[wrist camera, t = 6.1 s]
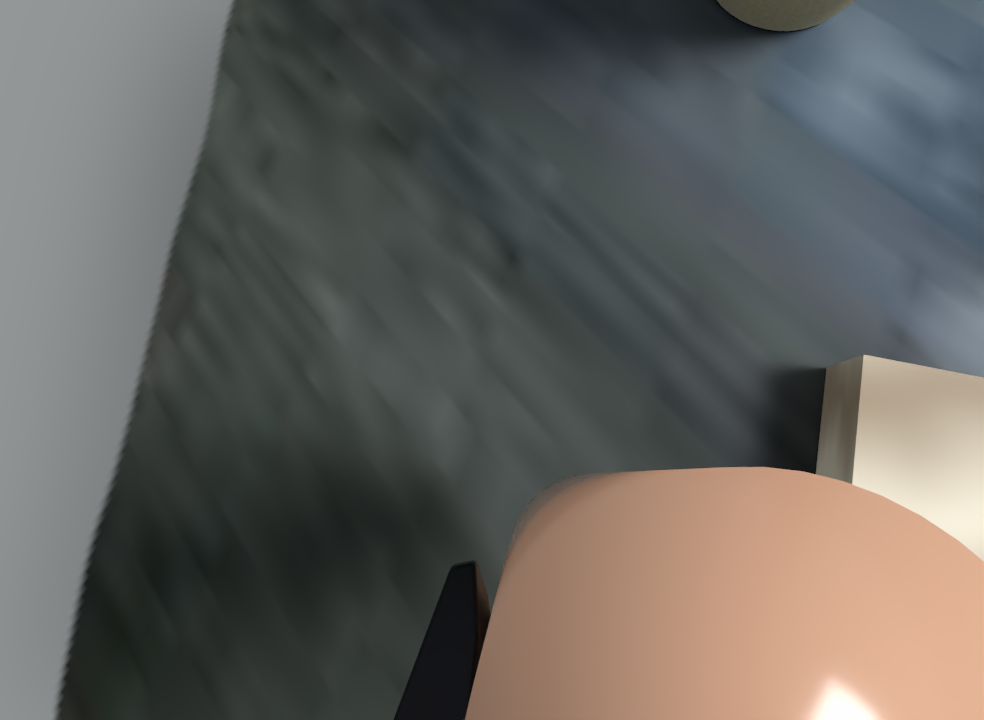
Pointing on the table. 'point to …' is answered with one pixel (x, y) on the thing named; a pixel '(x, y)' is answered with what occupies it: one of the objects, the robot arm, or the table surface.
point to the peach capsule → (730, 604)
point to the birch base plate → (908, 440)
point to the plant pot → (784, 12)
